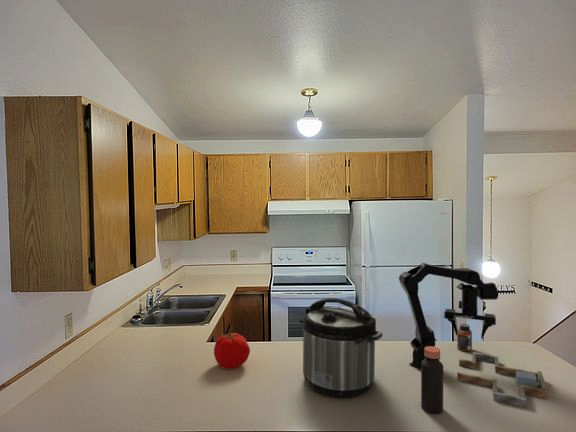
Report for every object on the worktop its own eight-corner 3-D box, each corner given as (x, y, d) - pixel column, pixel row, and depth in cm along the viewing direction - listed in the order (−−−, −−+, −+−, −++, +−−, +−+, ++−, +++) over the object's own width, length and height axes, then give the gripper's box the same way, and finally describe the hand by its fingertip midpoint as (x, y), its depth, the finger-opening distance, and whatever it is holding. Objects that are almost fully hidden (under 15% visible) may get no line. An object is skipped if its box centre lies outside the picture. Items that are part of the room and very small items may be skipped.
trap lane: (455, 391, 127) (455, 382, 127) (460, 355, 157) (460, 347, 157) (551, 413, 114) (551, 402, 114) (537, 369, 143) (537, 360, 143)
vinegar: (441, 417, 113) (441, 355, 112) (419, 410, 117) (419, 350, 116) (444, 406, 119) (445, 347, 118) (423, 400, 122) (423, 343, 121)
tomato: (207, 370, 146) (207, 337, 146) (225, 356, 159) (225, 326, 159) (241, 376, 141) (240, 342, 140) (257, 361, 153) (256, 330, 153)
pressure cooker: (395, 393, 127) (395, 305, 126) (323, 410, 117) (323, 315, 116) (352, 358, 155) (351, 286, 154) (291, 370, 146) (290, 293, 144)
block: (516, 386, 131) (517, 376, 131) (515, 380, 135) (515, 370, 135) (536, 390, 128) (536, 379, 128) (534, 384, 132) (534, 373, 132)
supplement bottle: (473, 352, 160) (473, 327, 159) (459, 351, 161) (459, 327, 160) (469, 347, 166) (469, 323, 165) (455, 346, 167) (456, 322, 166)
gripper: (495, 297, 149) (494, 334, 150) (446, 292, 158) (446, 327, 159) (496, 304, 139) (495, 343, 140) (444, 298, 148) (443, 335, 149)
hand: (469, 336), depth 147 cm, fingers open, 9 cm apart
